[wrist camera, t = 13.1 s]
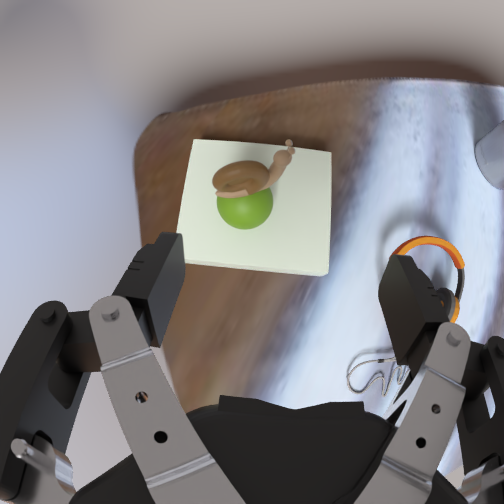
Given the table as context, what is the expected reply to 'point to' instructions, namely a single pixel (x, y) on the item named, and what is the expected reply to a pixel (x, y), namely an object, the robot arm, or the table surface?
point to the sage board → (277, 224)
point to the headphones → (444, 294)
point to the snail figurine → (249, 189)
